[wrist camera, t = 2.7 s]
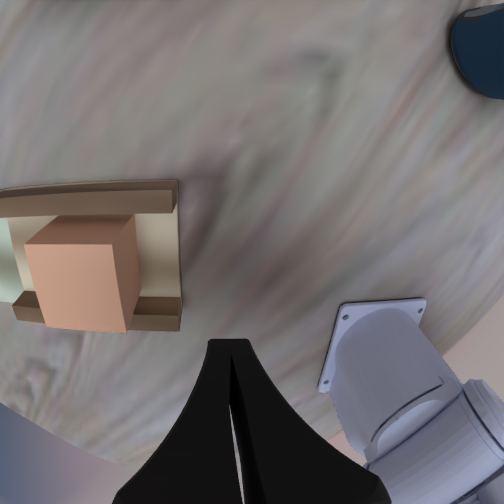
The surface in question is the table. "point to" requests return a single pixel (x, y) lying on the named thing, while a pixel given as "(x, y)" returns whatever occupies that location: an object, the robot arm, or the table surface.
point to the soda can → (481, 48)
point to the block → (86, 271)
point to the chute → (98, 202)
